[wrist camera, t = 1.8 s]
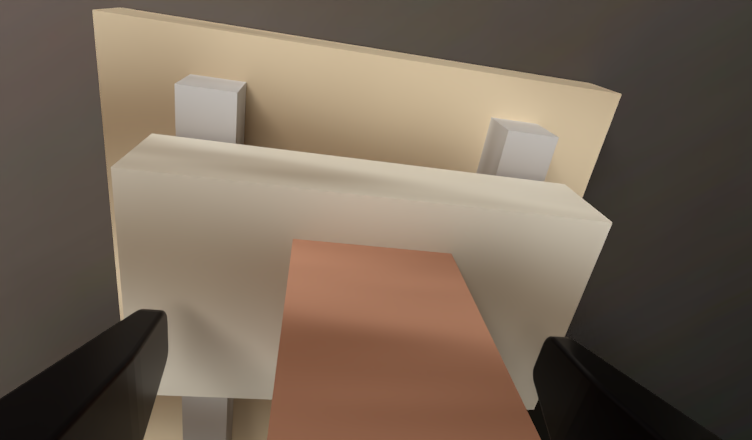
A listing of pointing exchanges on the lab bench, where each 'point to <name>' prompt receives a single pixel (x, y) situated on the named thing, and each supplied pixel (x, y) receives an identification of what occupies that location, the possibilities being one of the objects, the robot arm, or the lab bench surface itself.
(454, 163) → the press bed
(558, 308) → the slider
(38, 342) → the lab bench surface
